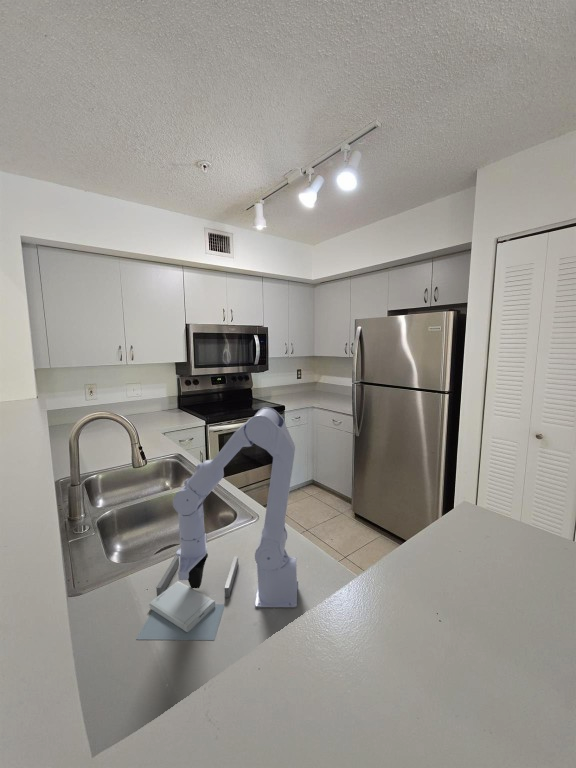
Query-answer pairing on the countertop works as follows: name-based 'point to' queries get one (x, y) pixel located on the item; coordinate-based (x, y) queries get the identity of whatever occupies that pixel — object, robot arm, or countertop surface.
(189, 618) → the hard drive
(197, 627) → the mat
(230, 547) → the countertop surface
